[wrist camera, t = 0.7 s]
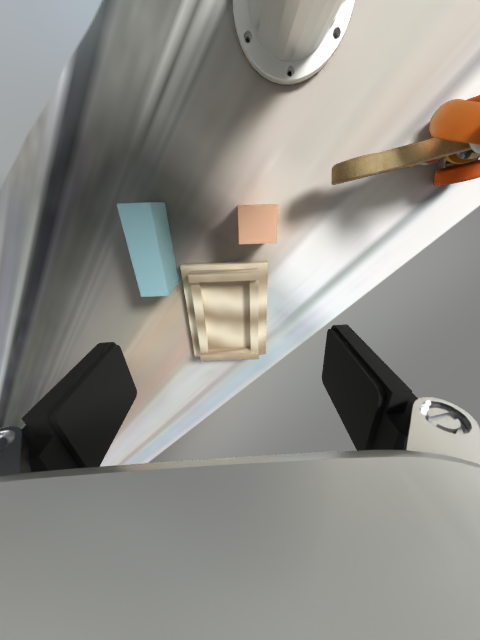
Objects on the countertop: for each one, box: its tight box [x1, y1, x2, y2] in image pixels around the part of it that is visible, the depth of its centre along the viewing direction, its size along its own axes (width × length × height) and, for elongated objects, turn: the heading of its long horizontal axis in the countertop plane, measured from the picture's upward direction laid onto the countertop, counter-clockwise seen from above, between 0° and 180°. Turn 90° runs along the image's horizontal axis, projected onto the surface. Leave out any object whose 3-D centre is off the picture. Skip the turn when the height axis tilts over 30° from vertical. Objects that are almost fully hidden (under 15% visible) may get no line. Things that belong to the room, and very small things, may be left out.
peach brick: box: [238, 204, 278, 244], centre depth 31 cm, size 4×5×6 cm
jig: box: [180, 261, 268, 361], centre depth 39 cm, size 18×14×4 cm
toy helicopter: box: [332, 95, 480, 186], centre depth 24 cm, size 8×21×14 cm, turn 103°
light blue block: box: [117, 202, 179, 297], centre depth 32 cm, size 12×4×6 cm, turn 2°
